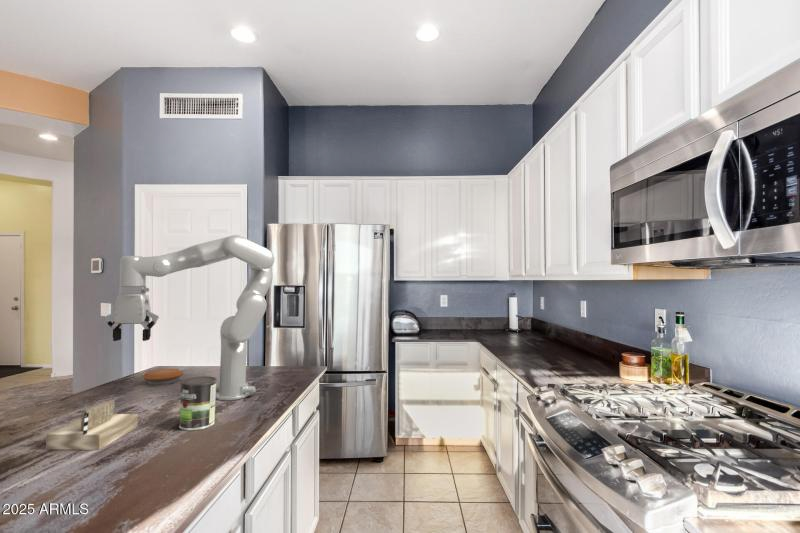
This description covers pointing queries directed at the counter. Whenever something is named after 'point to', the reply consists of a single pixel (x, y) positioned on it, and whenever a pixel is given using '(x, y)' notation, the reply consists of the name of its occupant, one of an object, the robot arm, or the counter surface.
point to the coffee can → (197, 403)
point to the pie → (162, 376)
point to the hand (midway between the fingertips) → (131, 340)
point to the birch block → (91, 433)
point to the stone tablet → (96, 415)
